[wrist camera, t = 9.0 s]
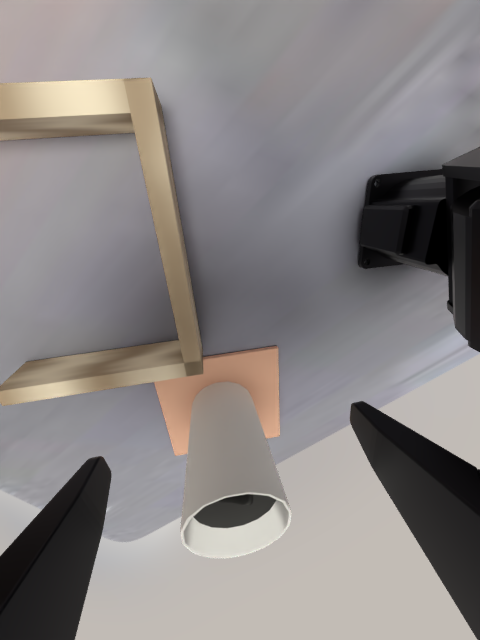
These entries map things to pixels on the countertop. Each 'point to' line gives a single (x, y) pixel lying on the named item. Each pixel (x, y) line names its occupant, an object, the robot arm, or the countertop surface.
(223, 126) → the countertop surface
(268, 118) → the countertop surface
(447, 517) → the robot arm
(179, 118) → the countertop surface
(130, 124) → the beige angled bar
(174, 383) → the terracotta mat
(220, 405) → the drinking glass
